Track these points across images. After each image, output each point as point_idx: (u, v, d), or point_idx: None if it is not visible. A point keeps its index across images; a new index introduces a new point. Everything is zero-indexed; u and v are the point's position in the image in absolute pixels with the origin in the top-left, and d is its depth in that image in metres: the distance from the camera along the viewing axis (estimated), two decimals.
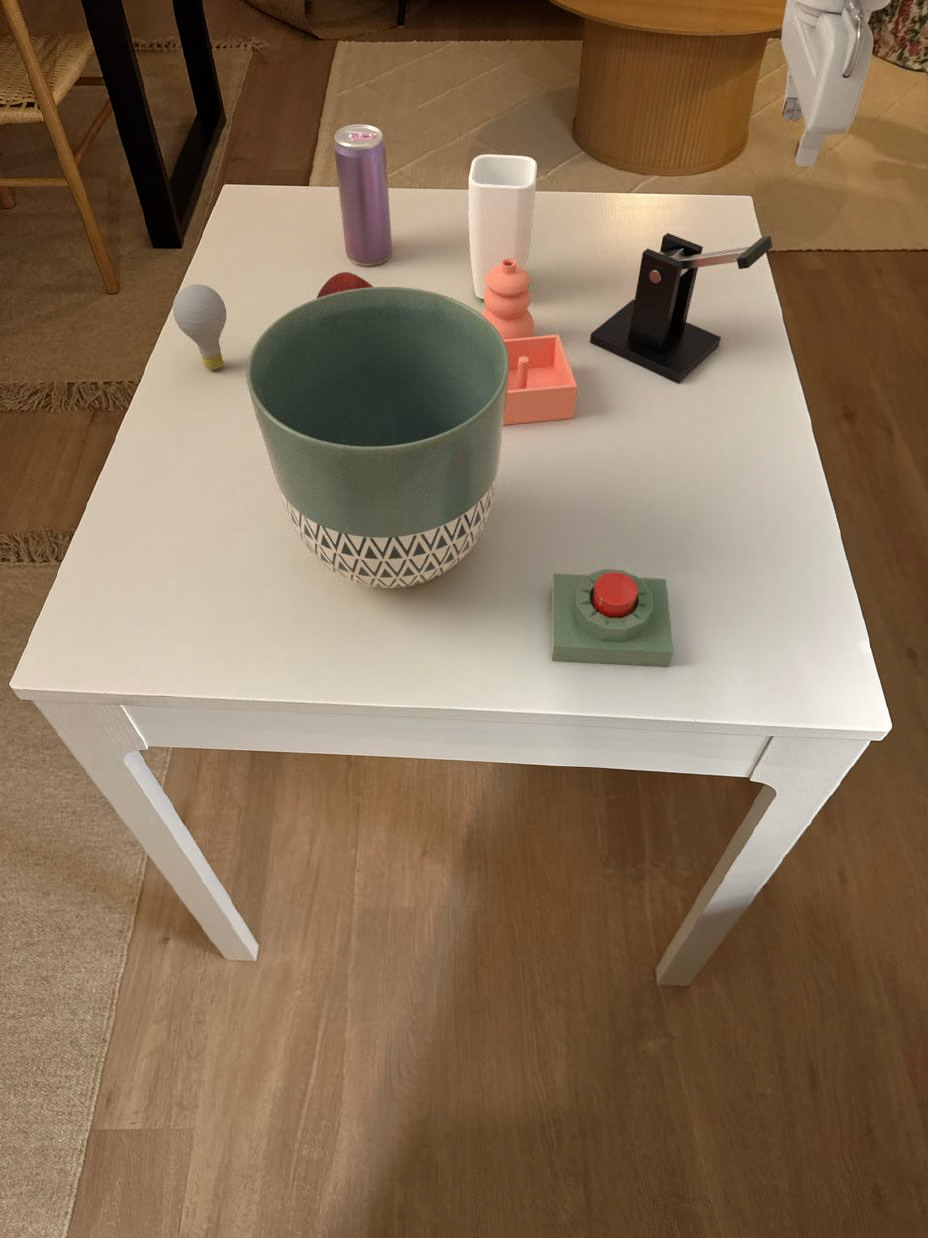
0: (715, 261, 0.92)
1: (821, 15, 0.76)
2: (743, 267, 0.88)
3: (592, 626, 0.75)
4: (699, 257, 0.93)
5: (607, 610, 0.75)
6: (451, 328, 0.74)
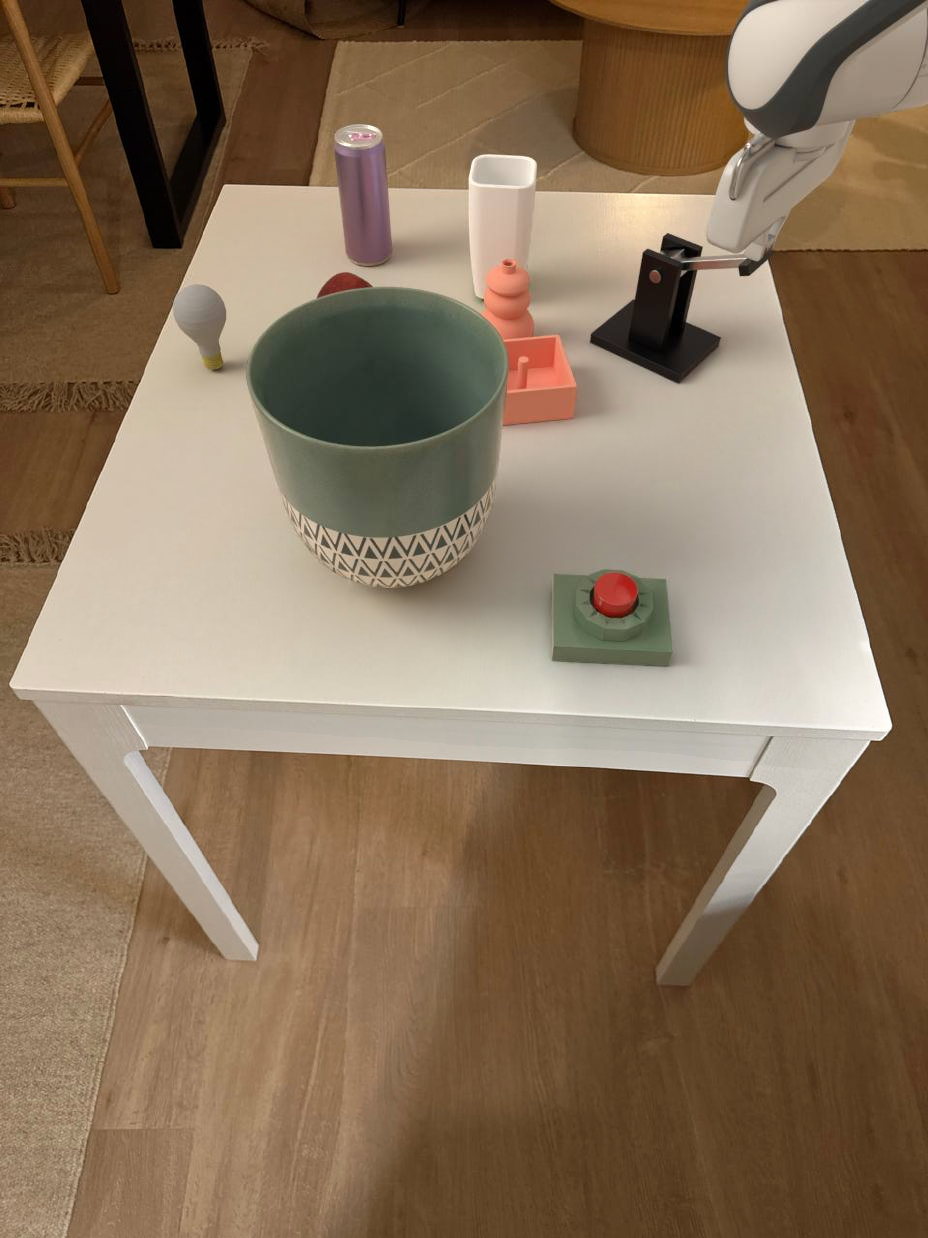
0: (716, 265, 0.92)
1: None
2: (744, 275, 0.89)
3: (592, 626, 0.75)
4: (700, 260, 0.93)
5: (607, 610, 0.75)
6: (450, 328, 0.74)
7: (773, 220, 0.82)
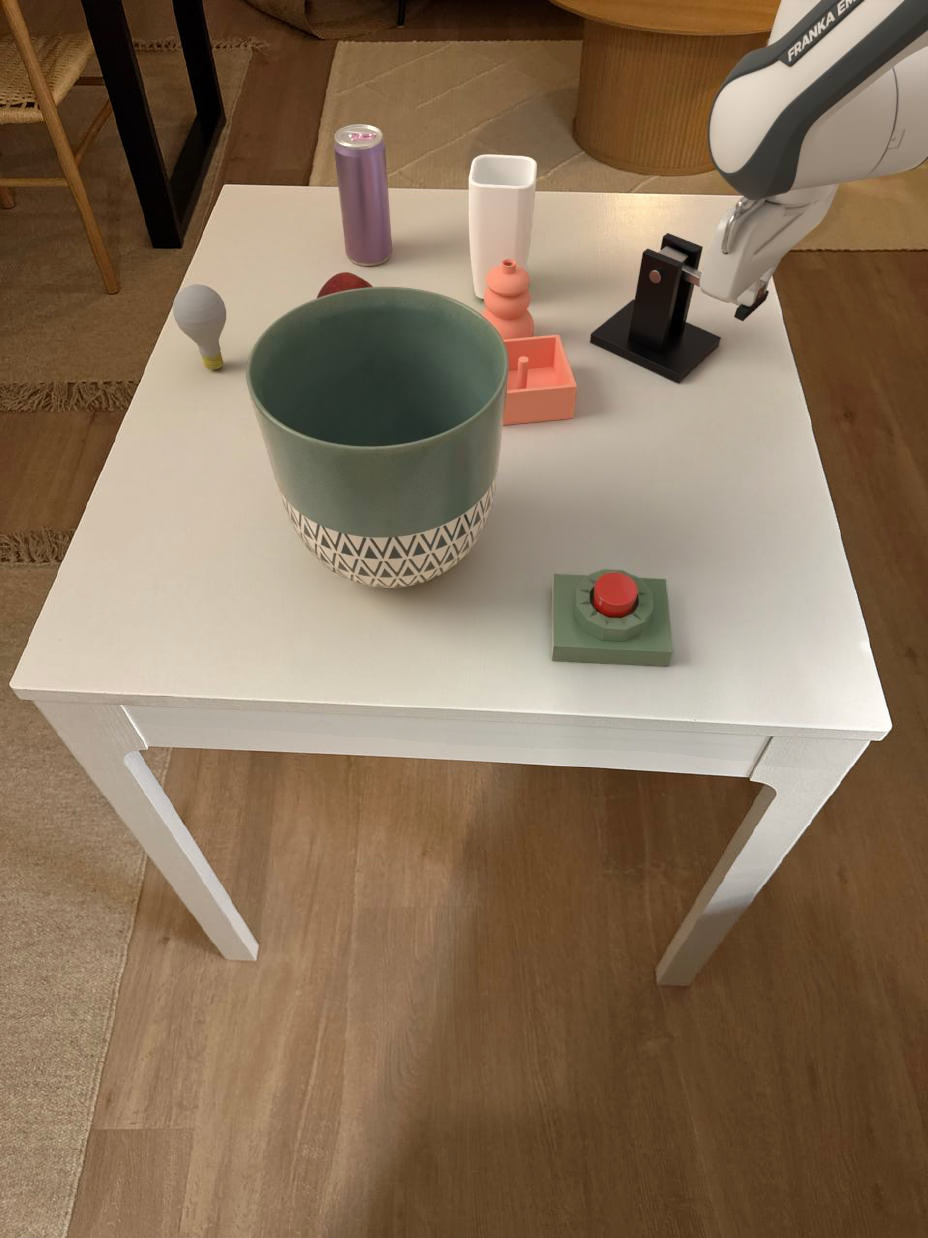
0: None
1: None
2: (738, 318, 0.92)
3: (592, 626, 0.75)
4: None
5: (607, 610, 0.75)
6: (450, 328, 0.74)
7: (764, 270, 0.86)
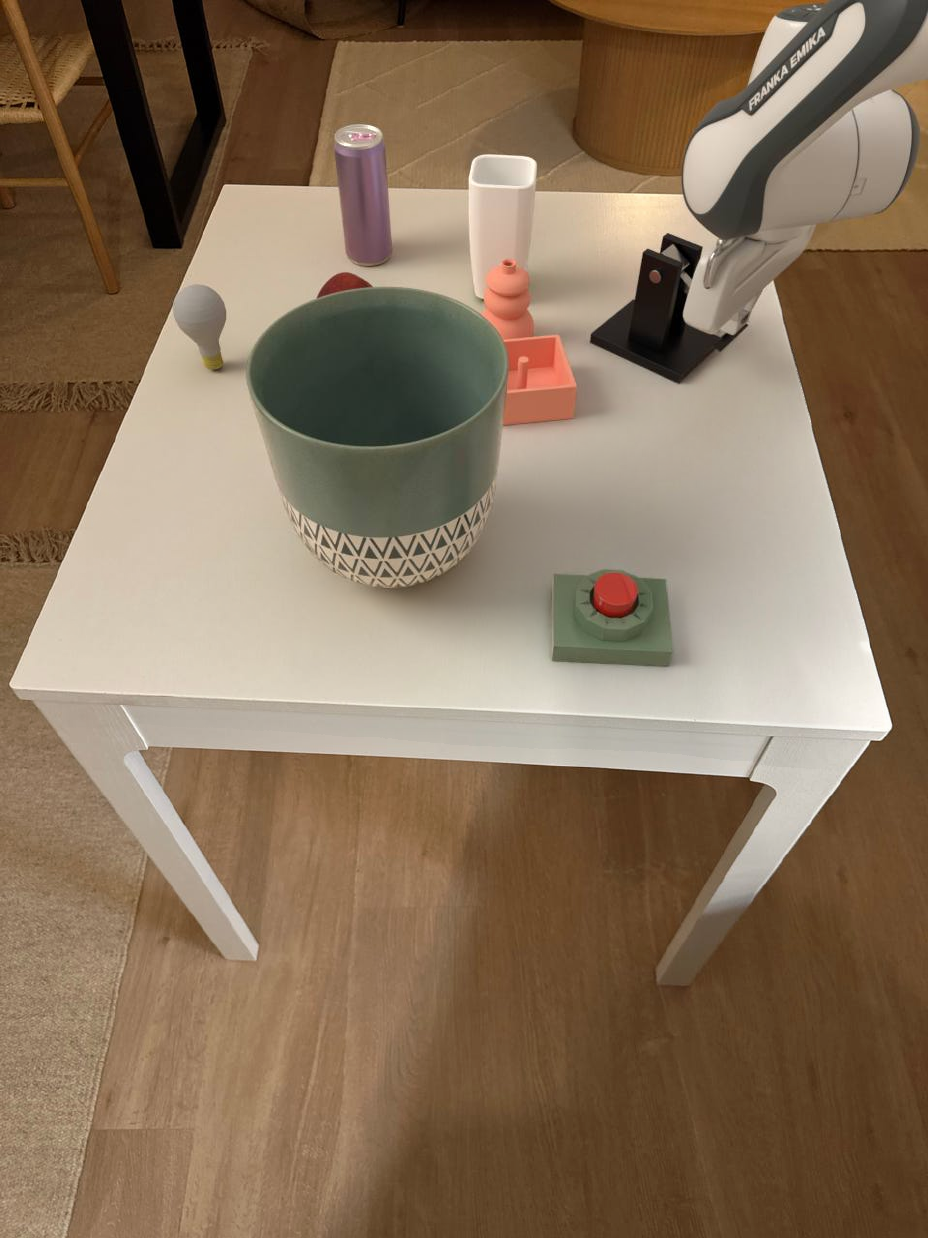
0: None
1: None
2: (717, 348, 0.96)
3: (592, 626, 0.75)
4: None
5: (607, 610, 0.75)
6: (450, 328, 0.74)
7: (746, 302, 0.89)
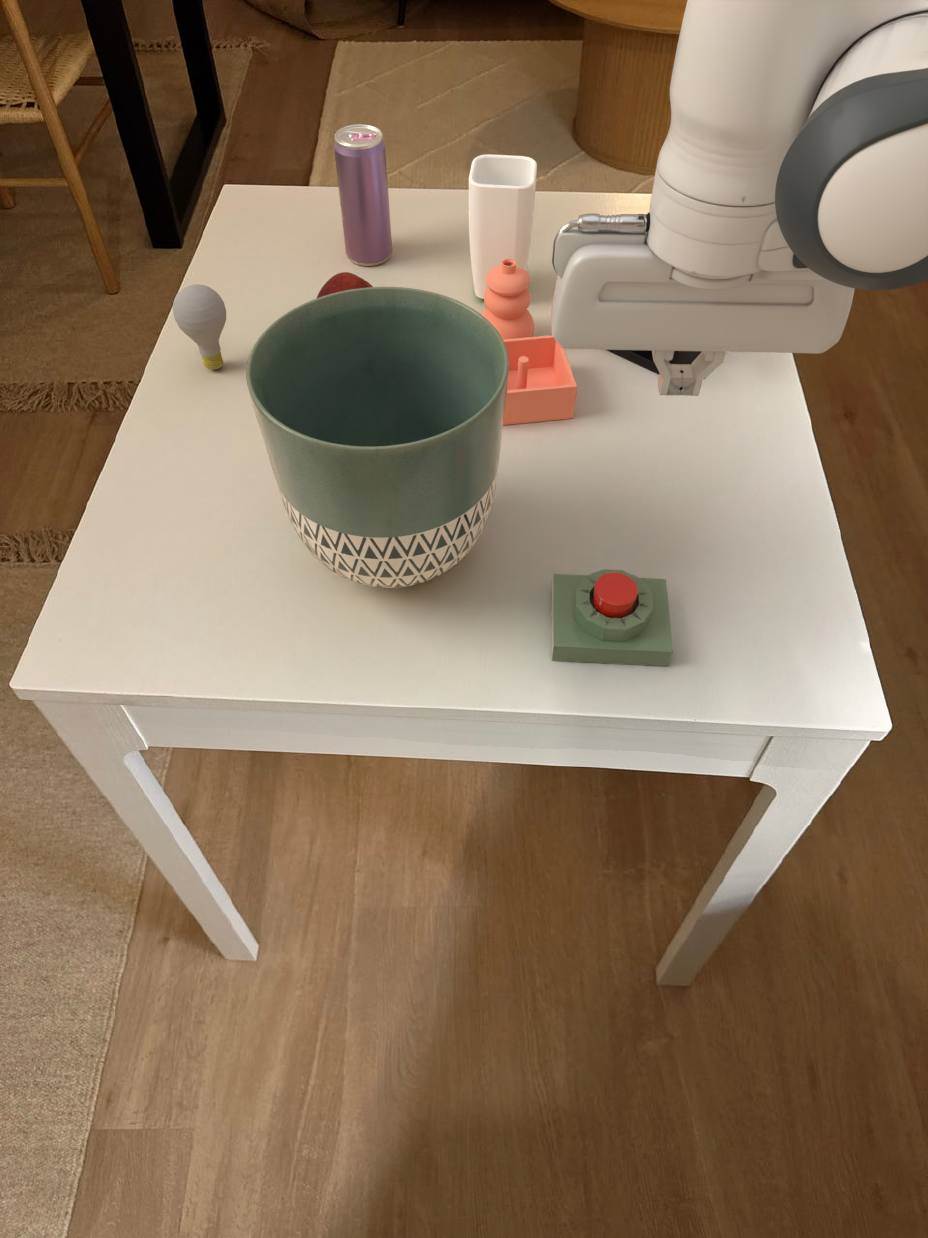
0: None
1: None
2: None
3: (592, 626, 0.75)
4: None
5: (607, 610, 0.75)
6: (450, 328, 0.74)
7: (645, 343, 0.63)
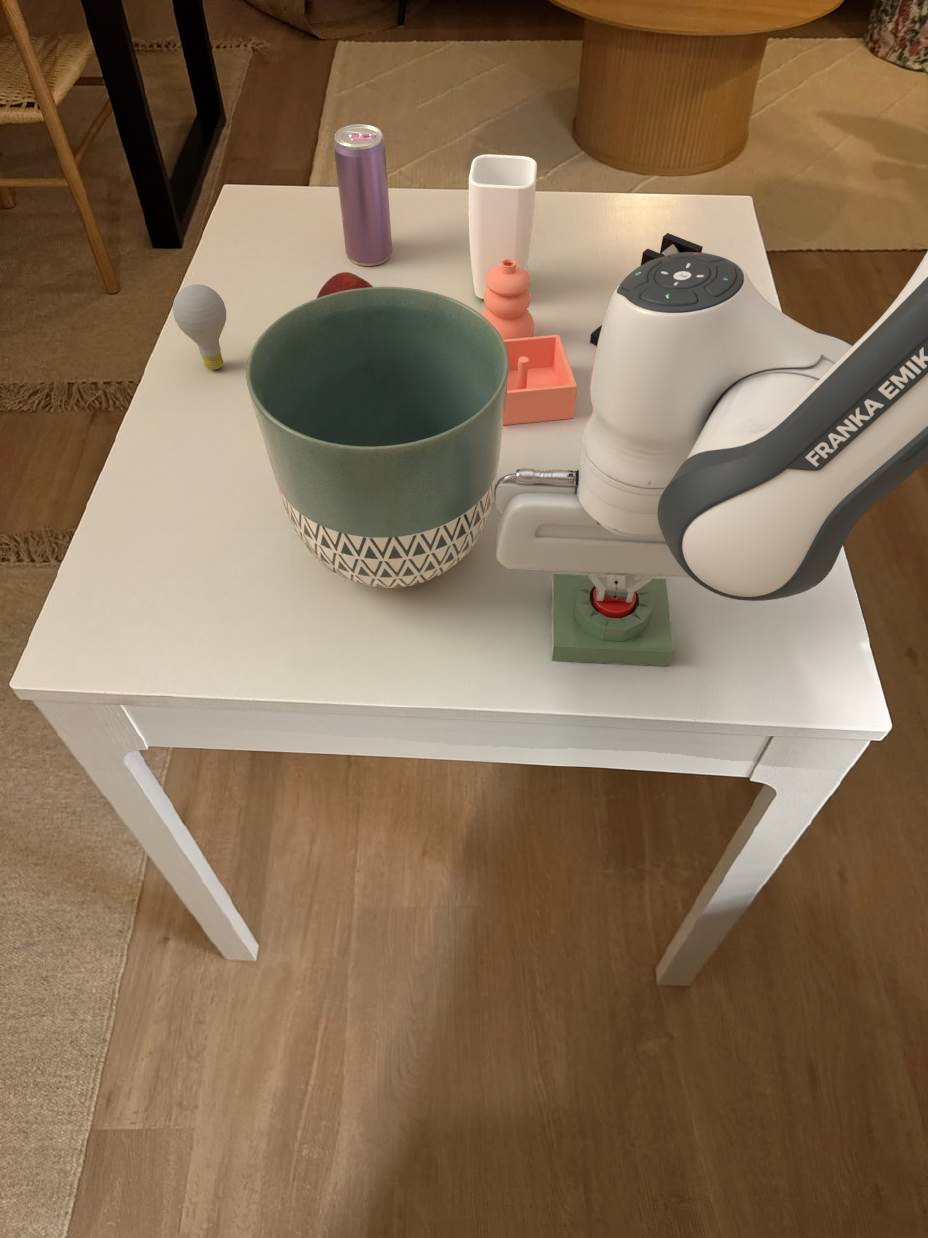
0: None
1: None
2: None
3: (592, 626, 0.75)
4: None
5: None
6: (450, 328, 0.74)
7: (579, 567, 0.70)
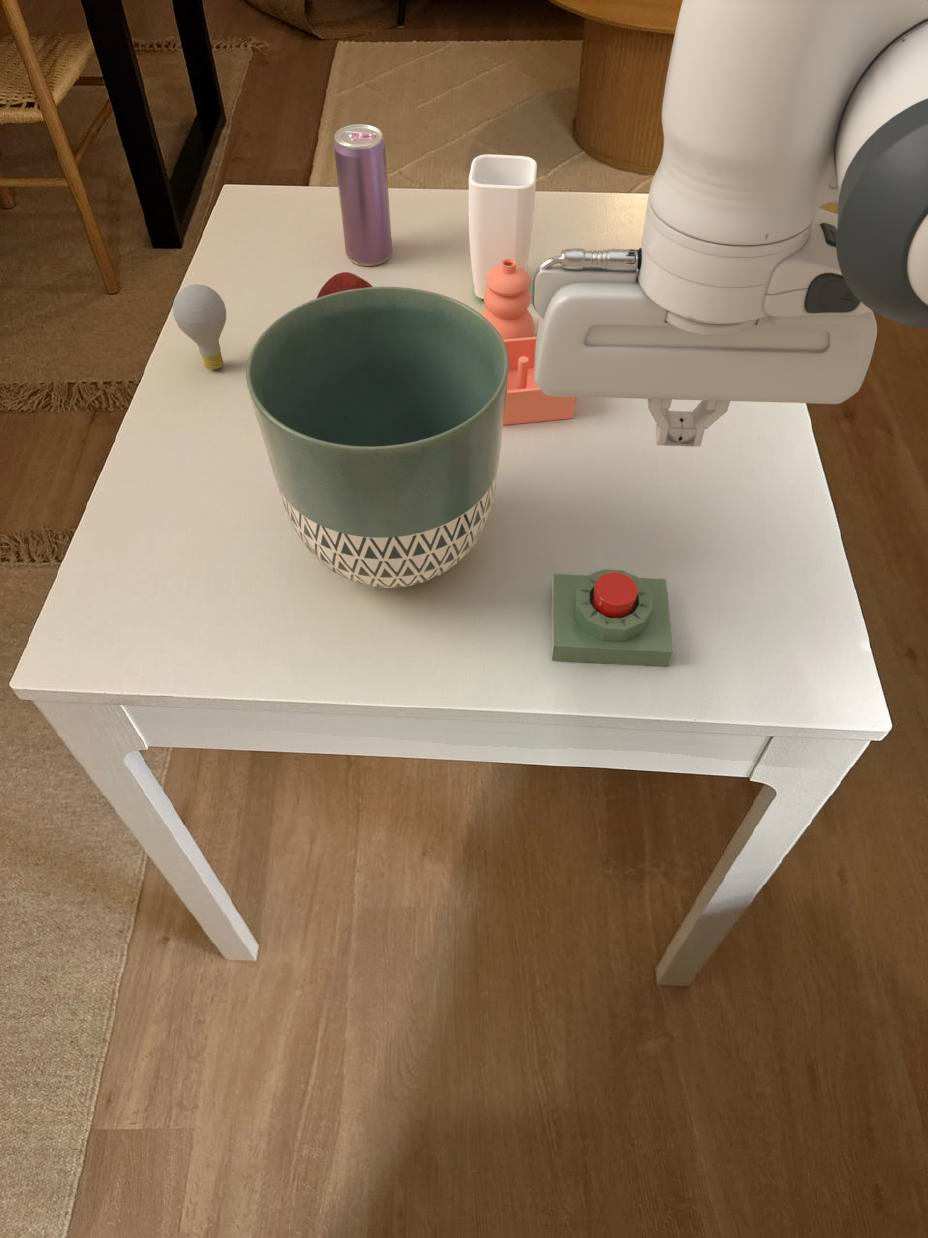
0: None
1: None
2: None
3: (592, 626, 0.75)
4: None
5: (607, 610, 0.75)
6: (450, 328, 0.74)
7: (638, 391, 0.56)
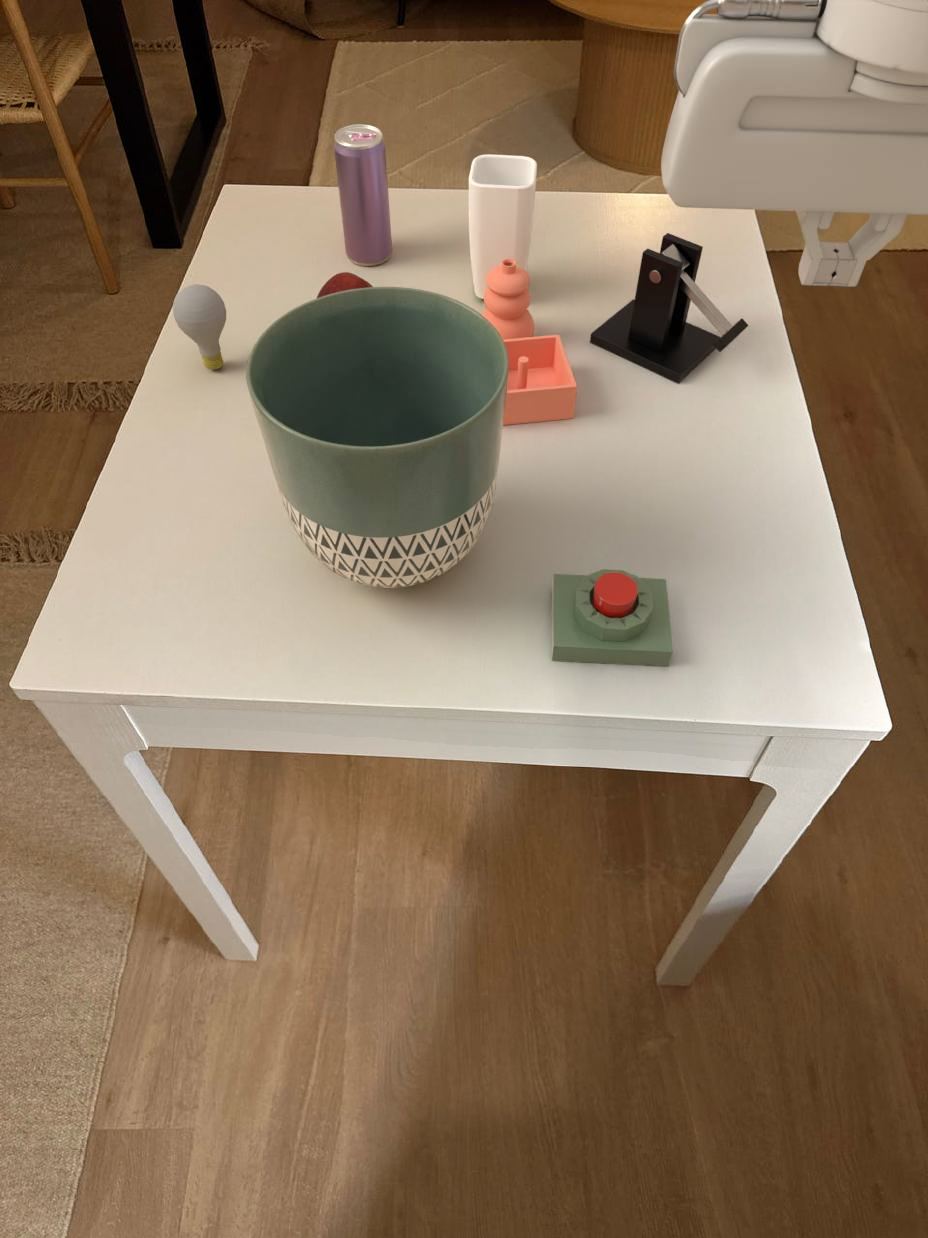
0: (702, 309, 0.96)
1: None
2: (717, 348, 0.96)
3: (592, 626, 0.75)
4: (695, 292, 0.96)
5: (607, 610, 0.75)
6: (450, 328, 0.74)
7: (797, 198, 0.45)
